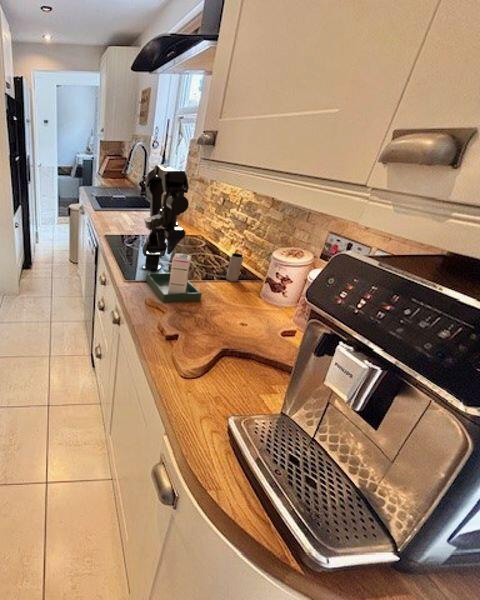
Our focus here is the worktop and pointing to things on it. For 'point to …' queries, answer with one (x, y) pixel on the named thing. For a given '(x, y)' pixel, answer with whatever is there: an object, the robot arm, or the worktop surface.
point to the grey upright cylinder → (234, 267)
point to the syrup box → (179, 273)
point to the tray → (161, 286)
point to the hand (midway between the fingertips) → (164, 250)
